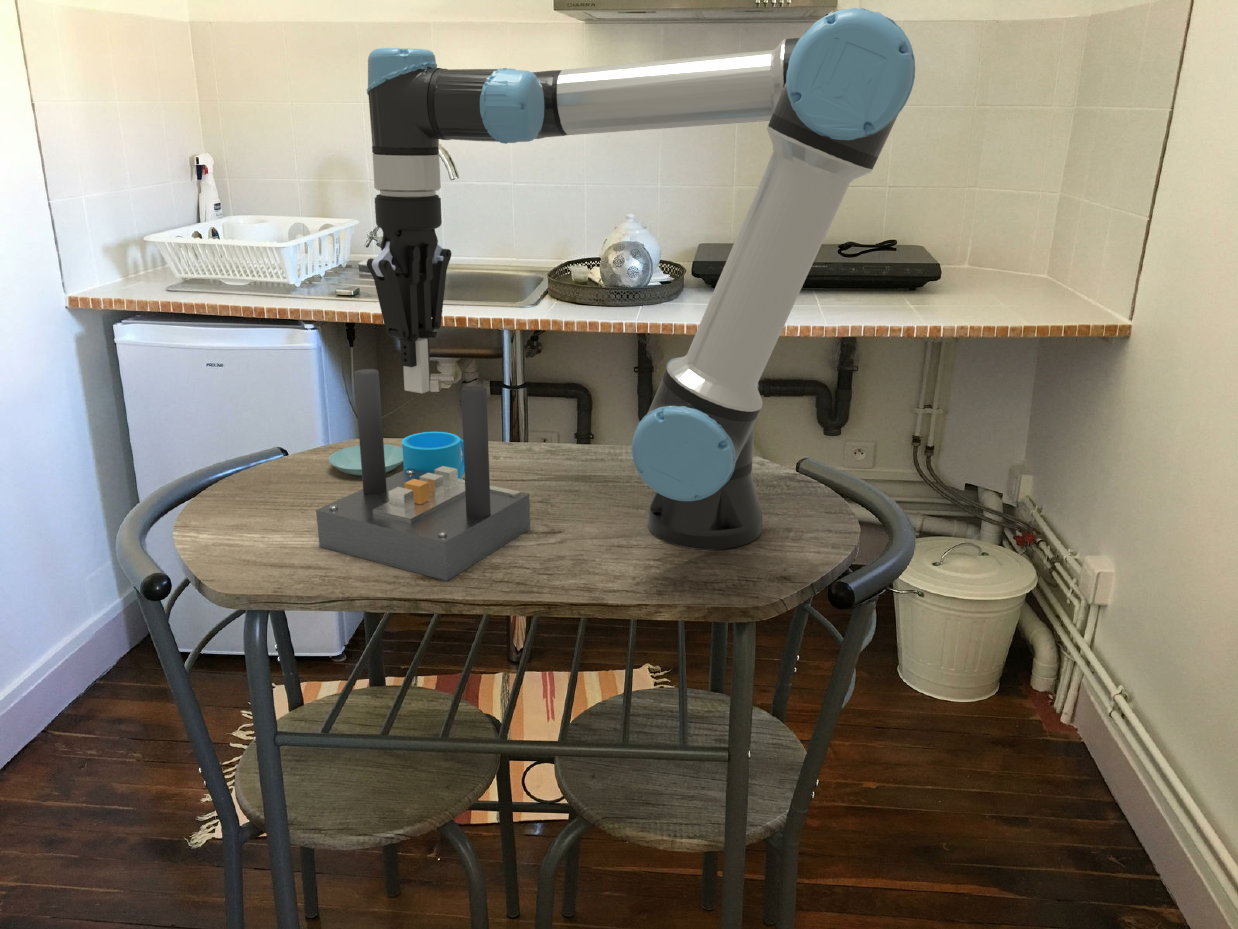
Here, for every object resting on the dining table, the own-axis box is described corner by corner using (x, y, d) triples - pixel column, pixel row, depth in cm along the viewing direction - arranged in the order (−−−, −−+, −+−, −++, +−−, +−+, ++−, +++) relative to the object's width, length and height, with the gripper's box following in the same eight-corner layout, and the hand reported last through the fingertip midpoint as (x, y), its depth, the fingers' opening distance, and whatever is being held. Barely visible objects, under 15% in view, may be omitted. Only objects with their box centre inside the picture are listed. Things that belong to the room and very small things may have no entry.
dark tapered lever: (495, 512, 126) (491, 388, 121) (481, 520, 124) (476, 394, 118) (475, 507, 128) (471, 385, 122) (461, 515, 125) (455, 390, 120)
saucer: (353, 488, 148) (352, 474, 147) (315, 468, 156) (314, 454, 155) (422, 471, 156) (422, 457, 155) (383, 452, 164) (382, 438, 163)
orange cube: (429, 499, 128) (428, 482, 127) (420, 504, 126) (419, 486, 126) (414, 496, 129) (413, 478, 128) (405, 500, 128) (404, 483, 127)
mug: (436, 508, 141) (434, 453, 138) (393, 497, 145) (389, 442, 142) (490, 483, 150) (488, 431, 148) (448, 473, 154) (445, 422, 152)
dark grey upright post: (391, 488, 134) (383, 370, 128) (376, 495, 131) (367, 375, 126) (373, 484, 135) (365, 367, 130) (358, 491, 132) (349, 372, 127)
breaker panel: (530, 529, 134) (529, 472, 131) (446, 581, 119) (443, 518, 116) (410, 501, 143) (407, 447, 140) (319, 546, 128) (313, 487, 125)
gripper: (417, 187, 124) (426, 375, 132) (343, 194, 113) (357, 398, 121) (467, 191, 120) (473, 383, 128) (396, 198, 109) (407, 407, 117)
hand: (417, 390), depth 124 cm, fingers closed
